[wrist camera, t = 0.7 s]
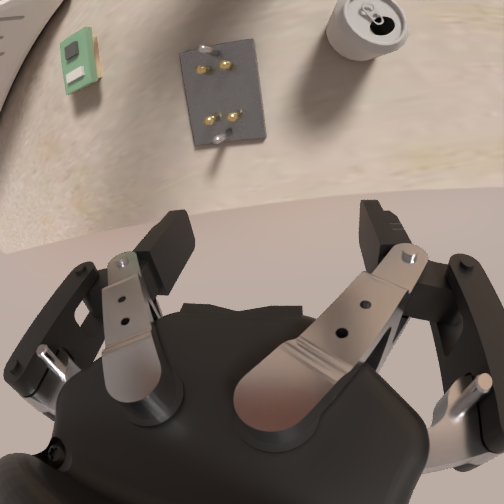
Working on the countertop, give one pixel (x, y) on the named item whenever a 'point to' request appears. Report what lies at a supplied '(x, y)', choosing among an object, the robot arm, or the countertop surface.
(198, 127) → the chassis
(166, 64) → the countertop surface
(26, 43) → the toaster
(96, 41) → the beige wooden block
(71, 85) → the board
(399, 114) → the countertop surface
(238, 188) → the countertop surface
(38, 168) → the countertop surface
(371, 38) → the can
